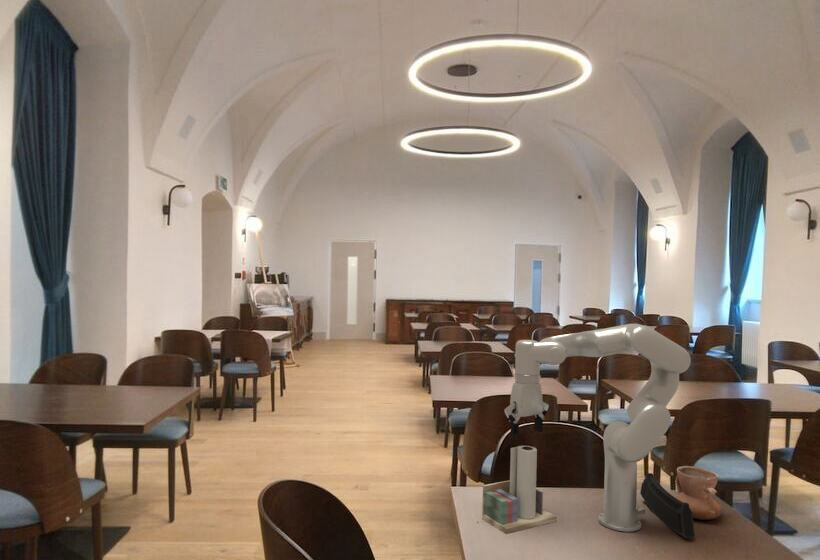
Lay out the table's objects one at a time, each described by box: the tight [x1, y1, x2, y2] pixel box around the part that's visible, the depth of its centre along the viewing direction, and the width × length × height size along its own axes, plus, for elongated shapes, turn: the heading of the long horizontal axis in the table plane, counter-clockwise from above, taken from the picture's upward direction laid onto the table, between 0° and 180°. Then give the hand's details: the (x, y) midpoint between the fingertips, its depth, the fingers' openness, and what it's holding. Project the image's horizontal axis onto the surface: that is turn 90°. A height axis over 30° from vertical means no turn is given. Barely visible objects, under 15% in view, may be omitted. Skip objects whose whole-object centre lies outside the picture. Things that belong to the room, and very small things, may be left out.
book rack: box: [481, 479, 557, 535], centre depth 176 cm, size 12×20×10 cm, turn 119°
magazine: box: [639, 472, 696, 539], centre depth 178 cm, size 17×3×30 cm
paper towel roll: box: [509, 445, 538, 519], centre depth 177 cm, size 7×6×21 cm
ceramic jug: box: [673, 465, 722, 521], centre depth 184 cm, size 18×14×14 cm
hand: (526, 433), depth 177 cm, fingers open, 9 cm apart
